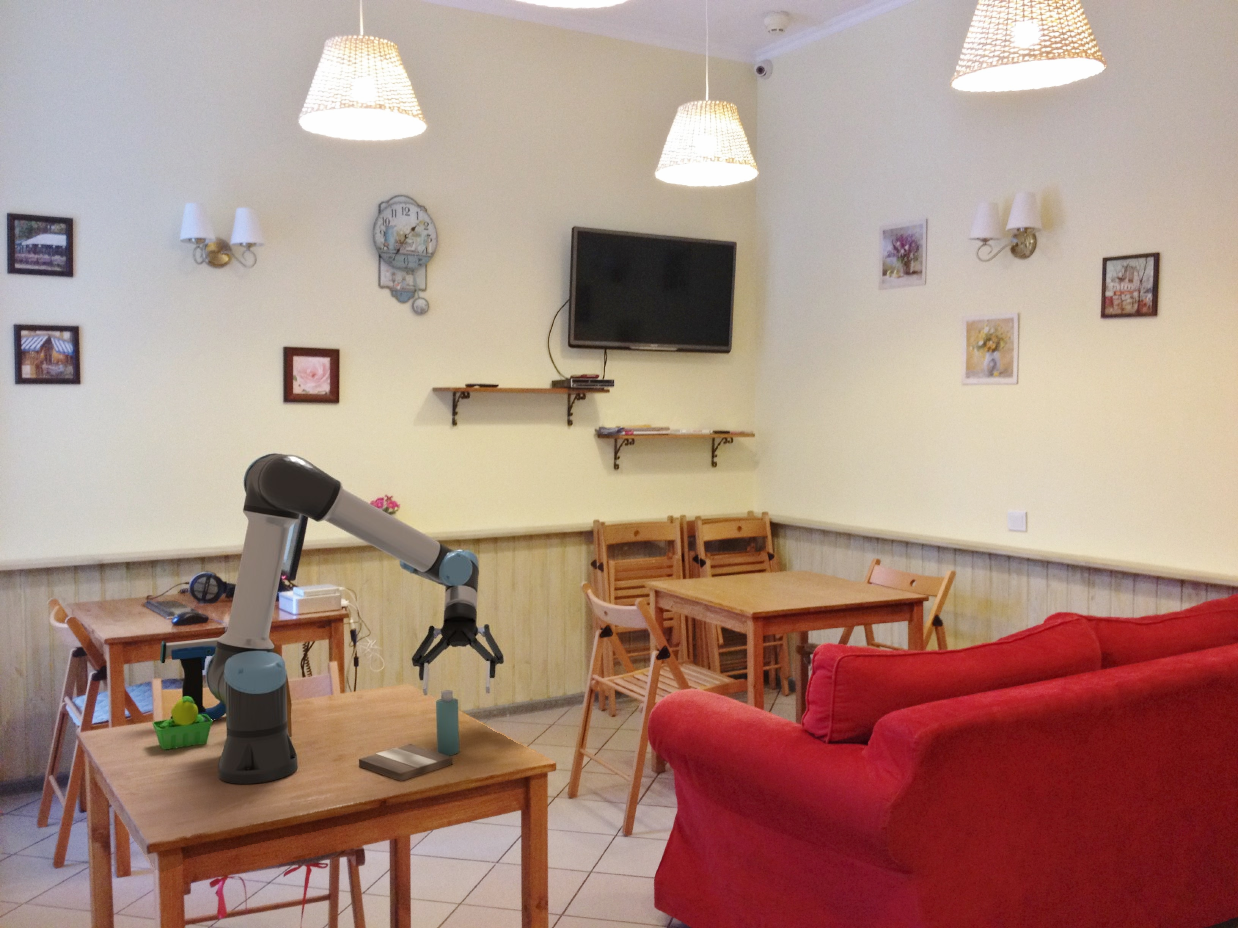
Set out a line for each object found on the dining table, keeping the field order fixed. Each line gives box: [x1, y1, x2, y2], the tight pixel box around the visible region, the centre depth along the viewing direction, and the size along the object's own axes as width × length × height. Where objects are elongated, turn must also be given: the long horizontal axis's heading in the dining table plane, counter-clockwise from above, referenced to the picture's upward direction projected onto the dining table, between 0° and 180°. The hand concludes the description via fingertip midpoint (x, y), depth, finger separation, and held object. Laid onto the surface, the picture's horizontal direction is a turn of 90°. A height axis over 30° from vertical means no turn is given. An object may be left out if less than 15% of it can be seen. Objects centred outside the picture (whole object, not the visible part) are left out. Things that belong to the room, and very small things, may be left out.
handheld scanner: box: [159, 637, 226, 720], centre depth 251 cm, size 5×16×20 cm, turn 115°
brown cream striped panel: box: [358, 743, 454, 782], centre depth 216 cm, size 13×14×2 cm
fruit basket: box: [152, 696, 214, 751], centre depth 232 cm, size 11×9×11 cm
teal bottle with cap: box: [435, 689, 460, 756], centre depth 224 cm, size 5×5×13 cm
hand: (456, 691), depth 231 cm, fingers open, 13 cm apart
